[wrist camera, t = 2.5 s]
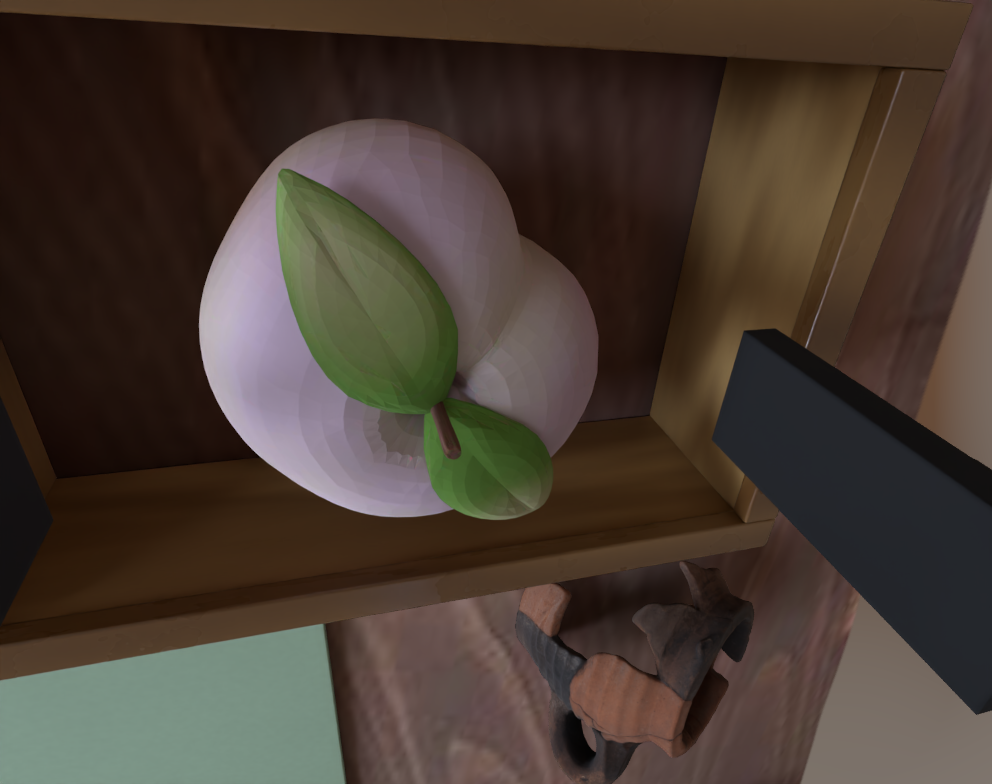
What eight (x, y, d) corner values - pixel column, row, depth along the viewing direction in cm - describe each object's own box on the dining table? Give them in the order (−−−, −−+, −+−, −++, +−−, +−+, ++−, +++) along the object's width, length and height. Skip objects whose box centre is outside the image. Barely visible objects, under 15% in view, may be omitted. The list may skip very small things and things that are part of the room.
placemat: (350, 808, 34) (350, 820, 33) (-33, 905, 29) (-39, 920, 28) (309, 506, 22) (309, 517, 22) (-322, 587, 18) (-340, 603, 17)
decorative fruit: (153, 253, 17) (2, 475, 8) (366, 36, 15) (434, 47, 7) (391, 436, 22) (442, 686, 13) (566, 285, 20) (740, 458, 12)
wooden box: (665, 432, 25) (766, 546, 20) (31, 506, 19) (-78, 696, 14) (766, 10, 18) (976, 2, 12) (-223, -73, 12) (-682, -161, 6)
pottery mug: (538, 510, 26) (717, 616, 21) (637, 494, 34) (787, 571, 28) (460, 742, 28) (606, 890, 23) (569, 680, 36) (697, 782, 30)
